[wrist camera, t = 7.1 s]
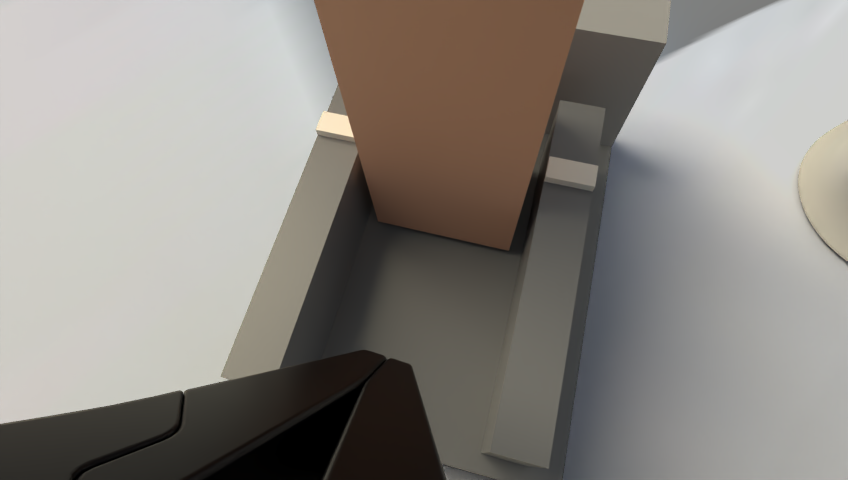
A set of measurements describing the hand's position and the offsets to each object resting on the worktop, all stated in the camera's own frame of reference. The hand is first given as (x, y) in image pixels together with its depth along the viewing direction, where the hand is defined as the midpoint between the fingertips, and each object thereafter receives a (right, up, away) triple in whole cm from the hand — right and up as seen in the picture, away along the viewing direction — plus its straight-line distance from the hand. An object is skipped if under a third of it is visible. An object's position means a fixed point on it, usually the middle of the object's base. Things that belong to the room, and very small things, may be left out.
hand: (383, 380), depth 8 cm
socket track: (+1, +2, +9) cm, 9 cm away
